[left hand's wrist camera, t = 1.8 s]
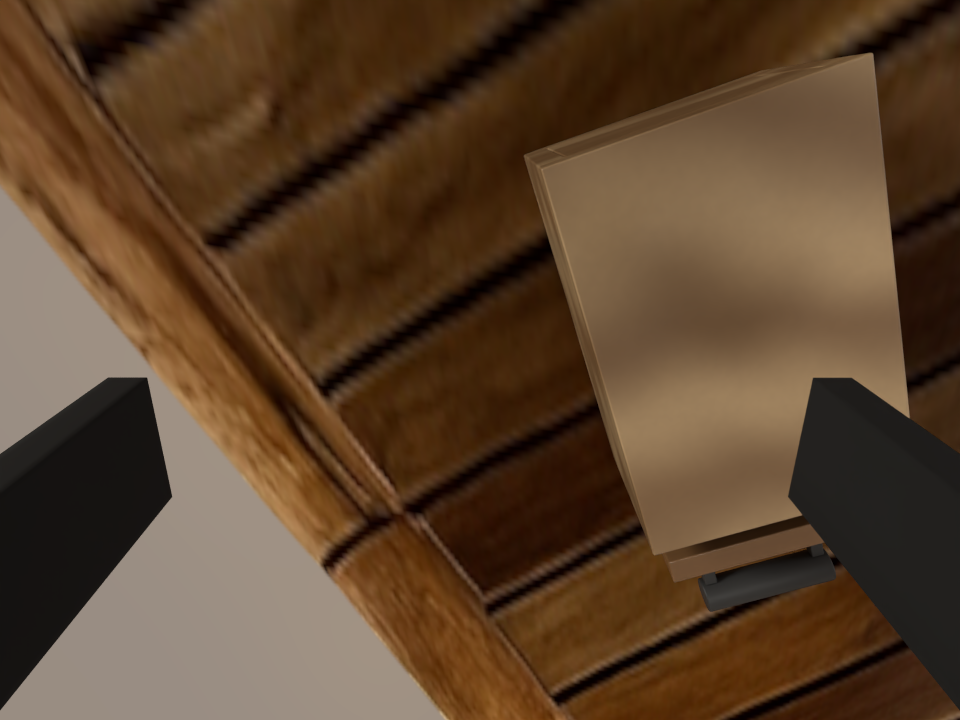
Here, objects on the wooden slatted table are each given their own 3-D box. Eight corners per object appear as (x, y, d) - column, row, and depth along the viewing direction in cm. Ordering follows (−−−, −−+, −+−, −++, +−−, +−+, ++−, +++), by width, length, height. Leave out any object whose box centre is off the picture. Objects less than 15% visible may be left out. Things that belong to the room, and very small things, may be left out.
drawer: (832, 533, 35) (903, 616, 29) (662, 578, 36) (698, 668, 30) (772, 165, 28) (851, 178, 22) (562, 236, 29) (584, 266, 23)
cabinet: (814, 398, 33) (917, 484, 25) (614, 457, 34) (653, 556, 26) (761, 70, 27) (874, 51, 19) (523, 154, 28) (540, 168, 21)
